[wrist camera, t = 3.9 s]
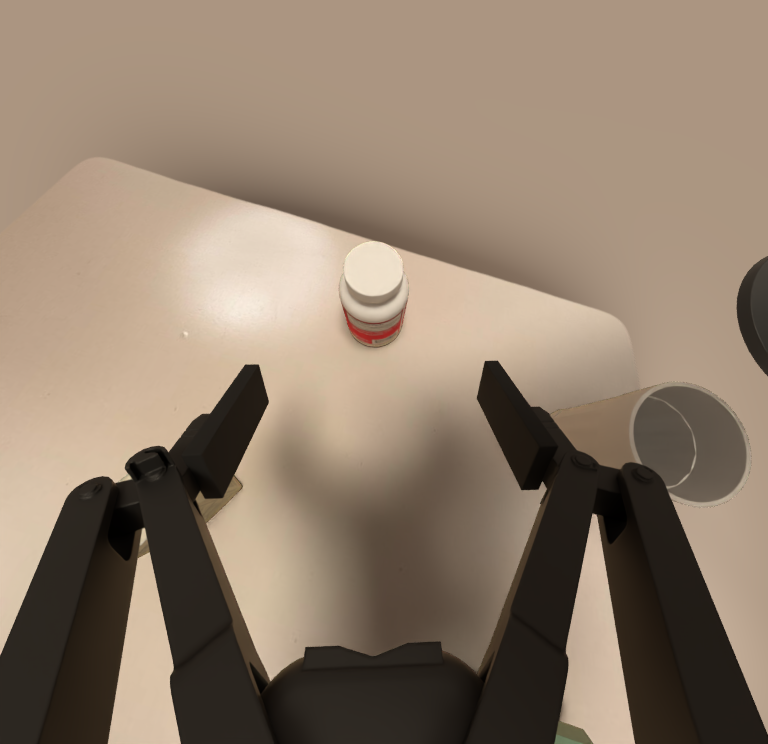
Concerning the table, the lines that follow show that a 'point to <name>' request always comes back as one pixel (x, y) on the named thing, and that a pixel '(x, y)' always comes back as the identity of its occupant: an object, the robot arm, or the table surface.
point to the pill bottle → (374, 293)
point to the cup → (667, 439)
